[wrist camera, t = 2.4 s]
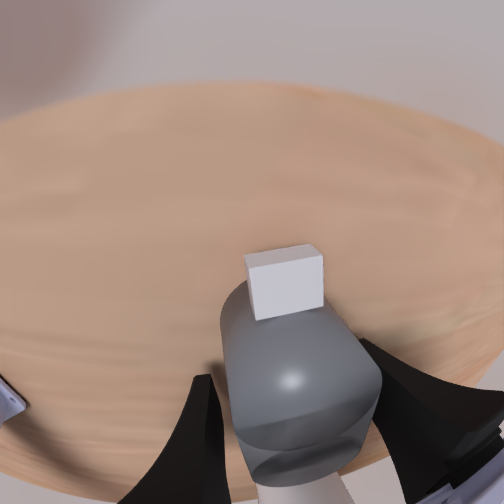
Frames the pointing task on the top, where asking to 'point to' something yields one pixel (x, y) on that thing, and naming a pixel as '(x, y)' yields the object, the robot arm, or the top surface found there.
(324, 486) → the drinking glass
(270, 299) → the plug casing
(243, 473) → the top surface
